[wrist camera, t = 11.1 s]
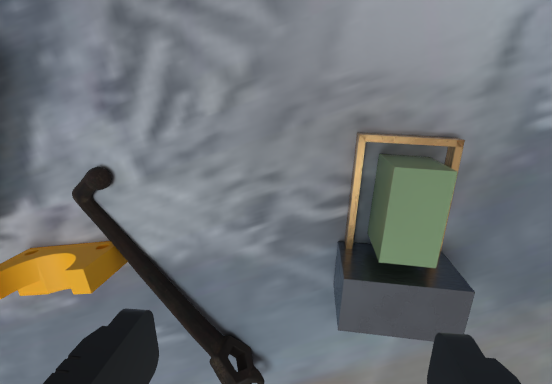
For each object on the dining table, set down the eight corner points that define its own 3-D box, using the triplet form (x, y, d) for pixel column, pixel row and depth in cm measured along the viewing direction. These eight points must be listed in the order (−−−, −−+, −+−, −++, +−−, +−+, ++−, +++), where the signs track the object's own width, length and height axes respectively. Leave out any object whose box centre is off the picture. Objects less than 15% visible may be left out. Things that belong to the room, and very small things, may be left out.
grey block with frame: (350, 132, 29) (360, 142, 22) (464, 138, 28) (511, 151, 21) (333, 283, 34) (338, 330, 27) (431, 294, 32) (461, 344, 26)
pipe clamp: (43, 279, 38) (-9, 314, 32) (31, 247, 37) (-26, 277, 31) (133, 273, 36) (96, 309, 30) (123, 239, 35) (83, 269, 29)
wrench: (117, 158, 35) (287, 357, 37) (91, 185, 36) (256, 374, 39) (79, 167, 30) (278, 396, 32) (51, 198, 31) (243, 414, 34)
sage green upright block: (379, 153, 29) (394, 167, 23) (429, 156, 29) (457, 171, 23) (367, 232, 32) (378, 262, 26) (413, 236, 31) (435, 268, 25)
